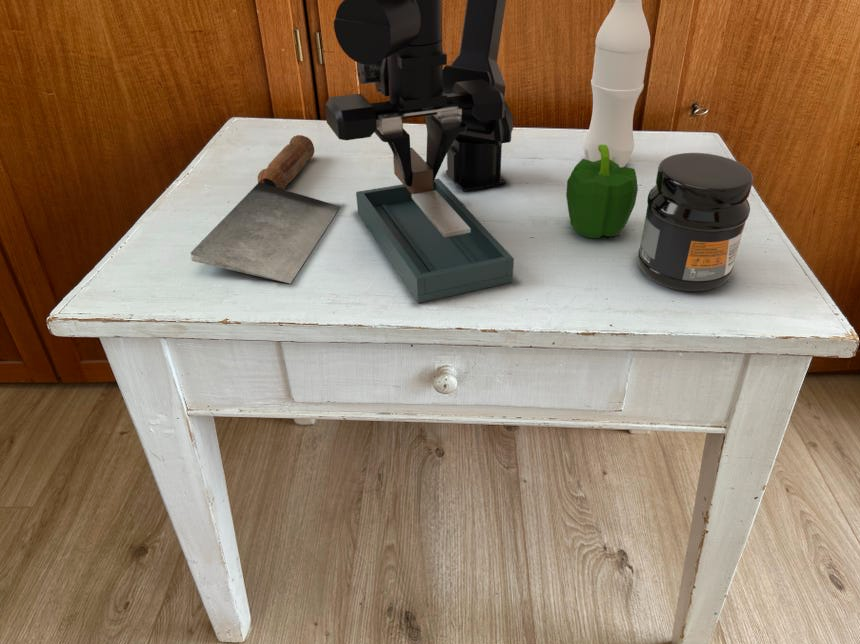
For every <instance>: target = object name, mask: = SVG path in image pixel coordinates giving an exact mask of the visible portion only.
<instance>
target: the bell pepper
mask: <svg viewBox="0 0 860 644" xmlns="http://www.w3.org/2000/svg"><path fill="white" fill-rule="evenodd" d="M598 149H599V152H601V160H598V161H594V162H592V161H589V160H586V159H585V158H581V159H580V161H579V162H578V163H577V164H576V165H575V166H574V167H573V169H572V171H571V173H570V175H569V177H568V178H567V180H566V192H565V197H566V203H567V204H566V205H567V211H568V216H569V222H570V225H571V227H572V229H573V230H574V231H575V232H576V233H577V234H578V235H579V236H582V237H586V238H589V239H600V238H601V237H602V236H605V237H616V236H618V234H619V233H621V231H622V230H623V229H624V228H625V226H626V225H627V223H628V220H629V219H630V217H631V214H632V212H633V210H634V209H635V205H636V201H637V196H638V191H639V187H638V178H637V173H636V169H635V168H632V167H626V166H624V167H619V165H618V164H617V163H615V162H613V161H612V160H610V159H609V149H608V147H607V146H606V145H599V146H598Z"/></svg>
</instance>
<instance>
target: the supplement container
mask: <svg viewBox="0 0 860 644" xmlns="http://www.w3.org/2000/svg"><path fill="white" fill-rule="evenodd" d="M753 183H754V175H753V173H752V171H750V169H749V168H748V167H747V166H745V165H744V164H742V163H740V162H738V161H736V160H734V159H731V158H729V157H725V156H721V155H717V154H712V153H703V152H683V153H677V154H673V155H670V156H667V157H665V158H664V159H663V160H661V161H660V163H659V164H658V167H657V172H656V178H655V184H654V186H653V187H652V188H651V189H650V191H649V192H648V195H647V200H646V202H647V207H646V212H645V218H644V223H643V227H642V228H643V229H642V235H641V238H640V245H639V248H638V251H637V263H638V266H639V268H640V270H641V271H642V273H643V274H644V275H645V276H647V277H648V279H650V280H652V281H653V282H655V283H657V284H659V285H661V286H663V287H666V288H669V289H672V290H676V291H684V292H704V291H709V290H713V289H716V288H719V287H720V286H722V285H724V284H725V283H726V282H727V281H728V280H729V279H730V277H731V276H732V273H733V270H734V265H735V260H736V257H737V254H738V251H739V246H740V243H741V239H742V236H743V232H744V229H745V225H746V222H747V220H748V218H749V217H750V214H751V213H750V212H751V206H750V202H749V200H748V198H749V197H750V193H751V189H752V187H753Z"/></svg>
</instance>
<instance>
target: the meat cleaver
mask: <svg viewBox="0 0 860 644" xmlns="http://www.w3.org/2000/svg"><path fill="white" fill-rule="evenodd" d="M314 155H315V146H314V143H313V141H312V140H311V138H309V137H308V136H305V135H303V134H302V135H300V134H297V135H294V136H293V137H292V138H290V140H289V143H288V144H287V145H285V146H284V147H283V148H282V149H281V150H280V152H279V153H277V155H275V156H274V158H273V159H272V160H271V161H270V162H269V164H268V165H267V167H266V168H264V169H261V170H260V172H258V175H257V184H256V185H255V186H254V187H253V188H252V189H251V190H250V191H249V192H248V193H247V194H246V195H244V197H243V198H242V199H241V200H240V201H239V202H238V203H237V204H236V205H235V206H234V207H233V208H232V209H231V211H229V212H228V213H227V215H225V217H223V219H222V220H221V221H220V222H219V223H218V224H217V225H216V226H215V227H214V228H213V229H212V230H210V232H209V233H208V234H207V235H206V236H205V237H204V238H202V240H201V241H199V243H198V244H197V245H196V246H195V247H194V248H193V250H191V252H190V260H191V261H192V262H195V263H199V264H204V265H207V266H211V267H215V268H220V269H224V270H230V271H234V272H239V273H243V274H246V275H252V276H256V277H260V278H264V279H268V280H273V281H277V282H281V283H286V284H289V285H290V284H292V282H293V280H295V278H296V276H297V275H298V273H299V272H300V270H301V268H302V267H303V265H304V264H305V262H306V260H307V259H308V257H309V256H310V255H311V253H312V252H313V250H314V248H315V247H316V245H317V244H318V242H319V240H320V239H321V237H322V236H323V234H324V233H325V231H326V230H327V228H328V227H329V225H330V223H331V222H332V220H333V219H334V217H335V216H336V215H337V213H338V211H339V210H340V208H341V206H340V205H338V204H334V203H331V202H327V201H324V200H321V199H317V198H313V197H311V196H307V195H304V194H300V193H298V192H294V191H291V190H287V189H286V188H287V186H288V185H289V184H290V183H291V182H292V181H293V180H294V178H295V177H297V175H298V173H299V172H300V171H301V170H302V169H303V167H304V166H305V165H306V164H307V162H308V160H310V159H312V158H313V157H314Z"/></svg>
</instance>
